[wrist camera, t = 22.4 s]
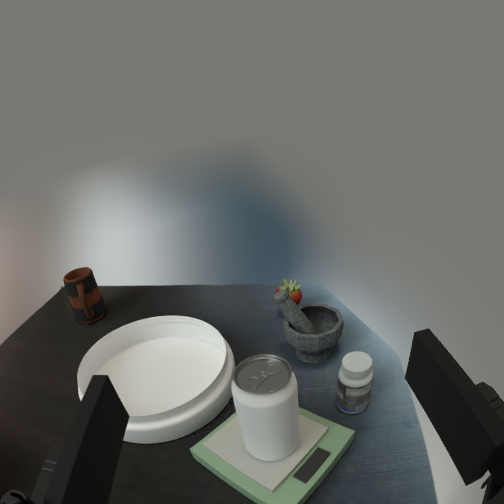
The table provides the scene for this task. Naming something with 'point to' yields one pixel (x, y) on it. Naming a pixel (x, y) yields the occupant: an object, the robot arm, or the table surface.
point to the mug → (84, 295)
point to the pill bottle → (354, 382)
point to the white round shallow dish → (164, 375)
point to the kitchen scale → (280, 471)
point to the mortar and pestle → (310, 327)
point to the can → (267, 406)
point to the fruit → (291, 290)
